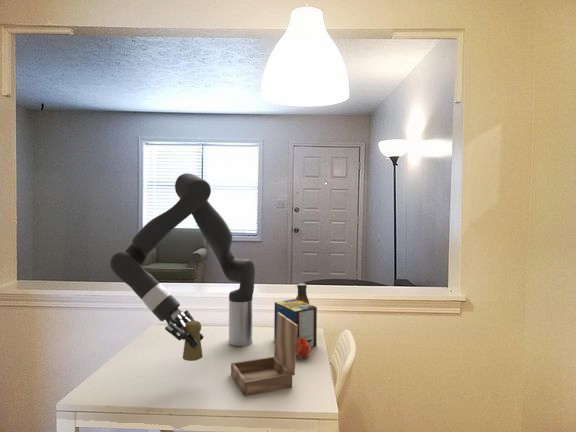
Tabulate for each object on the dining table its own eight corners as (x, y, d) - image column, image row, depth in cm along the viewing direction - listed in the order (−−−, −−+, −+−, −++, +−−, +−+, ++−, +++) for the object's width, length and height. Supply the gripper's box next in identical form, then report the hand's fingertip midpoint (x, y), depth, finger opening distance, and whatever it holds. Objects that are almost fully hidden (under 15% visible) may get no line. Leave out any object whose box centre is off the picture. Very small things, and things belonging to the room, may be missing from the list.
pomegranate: (293, 367, 145) (316, 351, 144) (281, 349, 147) (304, 334, 145) (297, 361, 153) (318, 346, 151) (286, 344, 154) (307, 329, 153)
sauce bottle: (311, 328, 182) (312, 283, 181) (306, 332, 176) (307, 286, 175) (298, 325, 185) (298, 282, 184) (292, 330, 179) (293, 284, 178)
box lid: (276, 312, 139) (279, 312, 139) (273, 357, 139) (276, 357, 139) (295, 325, 125) (298, 325, 125) (291, 375, 125) (294, 375, 126)
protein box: (294, 334, 173) (295, 298, 172) (316, 346, 160) (317, 306, 159) (273, 339, 167) (273, 301, 166) (294, 351, 154) (295, 310, 154)
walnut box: (230, 375, 133) (231, 363, 133) (274, 368, 139) (274, 356, 139) (244, 396, 120) (244, 382, 119) (292, 387, 125) (292, 374, 125)
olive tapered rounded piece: (197, 361, 123) (197, 325, 123) (179, 359, 124) (178, 324, 124) (205, 353, 129) (205, 319, 128) (187, 352, 130) (187, 318, 130)
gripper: (159, 300, 119) (199, 343, 119) (177, 288, 134) (214, 327, 133) (141, 317, 120) (181, 360, 120) (162, 304, 135) (198, 342, 134)
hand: (198, 342), depth 126 cm, fingers closed on olive tapered rounded piece, 4 cm apart
